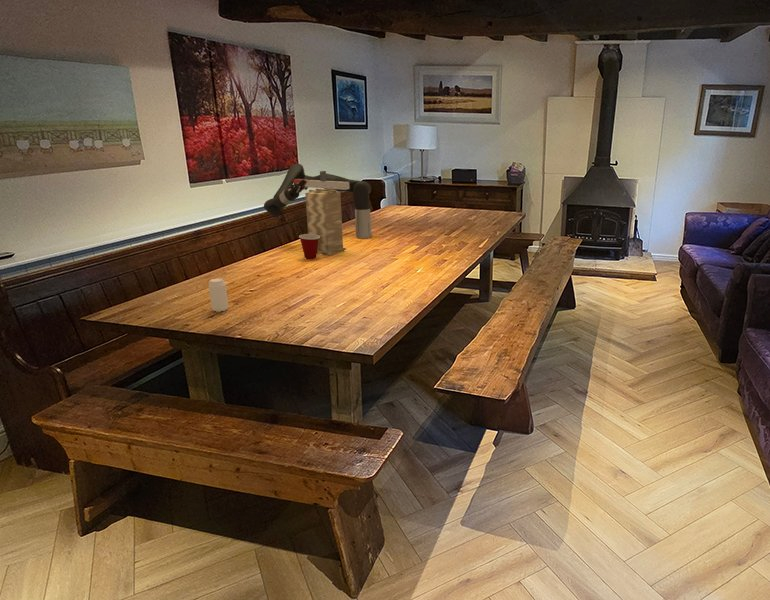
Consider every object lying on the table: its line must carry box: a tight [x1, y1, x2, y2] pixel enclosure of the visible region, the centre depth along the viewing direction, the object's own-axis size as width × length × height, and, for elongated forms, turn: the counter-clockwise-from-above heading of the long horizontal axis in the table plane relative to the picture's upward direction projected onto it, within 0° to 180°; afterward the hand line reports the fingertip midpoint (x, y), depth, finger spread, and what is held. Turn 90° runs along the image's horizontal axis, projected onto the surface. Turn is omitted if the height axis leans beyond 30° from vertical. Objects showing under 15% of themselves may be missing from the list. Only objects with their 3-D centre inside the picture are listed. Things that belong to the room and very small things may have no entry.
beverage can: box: [208, 277, 229, 313], centre depth 202 cm, size 6×6×12 cm
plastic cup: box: [298, 233, 320, 260], centre depth 277 cm, size 11×11×12 cm
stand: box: [304, 188, 347, 257], centre depth 287 cm, size 16×14×33 cm
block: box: [293, 170, 349, 190], centre depth 281 cm, size 36×4×9 cm, turn 54°
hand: (307, 180), depth 286 cm, fingers closed on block, 4 cm apart
